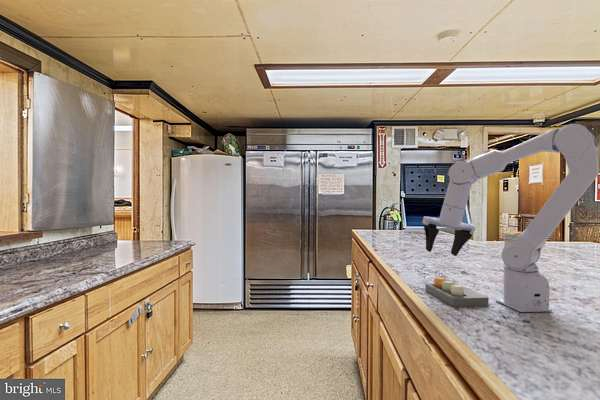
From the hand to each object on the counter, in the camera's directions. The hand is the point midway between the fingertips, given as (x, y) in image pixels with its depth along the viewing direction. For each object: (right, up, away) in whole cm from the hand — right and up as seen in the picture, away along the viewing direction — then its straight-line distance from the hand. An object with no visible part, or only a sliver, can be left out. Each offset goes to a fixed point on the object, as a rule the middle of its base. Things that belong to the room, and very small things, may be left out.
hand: (440, 252), depth 104 cm
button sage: (-1, -9, -7) cm, 11 cm away
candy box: (+29, -11, +14) cm, 34 cm away
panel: (+1, -11, -7) cm, 13 cm away
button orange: (-1, -9, -2) cm, 9 cm away
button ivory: (0, -9, -11) cm, 15 cm away
